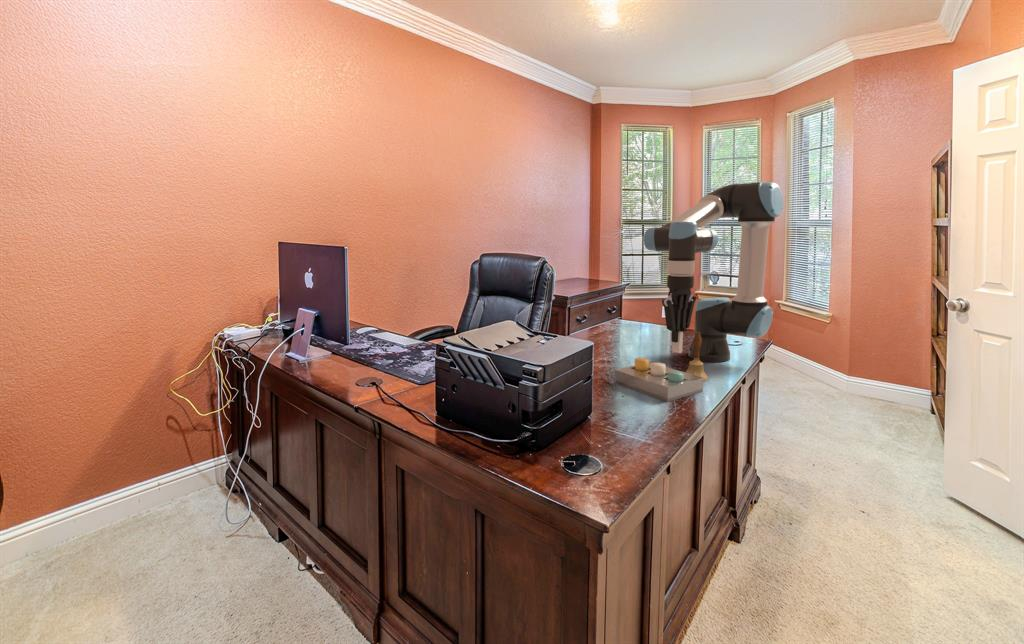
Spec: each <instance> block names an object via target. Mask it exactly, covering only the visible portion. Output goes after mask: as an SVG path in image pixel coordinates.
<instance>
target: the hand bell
mask: <svg viewBox="0 0 1024 644" xmlns="http://www.w3.org/2000/svg"><path fill="white" fill-rule="evenodd" d="M693 336H694V335H693ZM693 338H694V339H693ZM693 338H692V341H693V346H694V359H693V360H690V361H689V363H688V367H687V370H686V371H685V373H688V374H692V375H695V376H699V377H702V378H703V382H706V380H707V381H708V380H709V377H708V375H707V374H706V372H705V369H704V363H703V361H700V360H699V350H700V347H701V336H700V332H696V333H695V336H694V337H693Z"/></svg>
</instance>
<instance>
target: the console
mask: <svg viewBox="0 0 1024 644" xmlns="http://www.w3.org/2000/svg"><path fill="white" fill-rule="evenodd" d="M651 363H652V362H651V361H649V370H648V371H644V372H641V371H637V370H634V365H630V366H626V367H621V368H615V369H614V384H617V385H620V386H622V387H625V388H628V389H630V390H633V391H636V392H639V393H642V394H644V395H647V396H650V397H653V398H656V399H658V400H661V401H663V402H665V403H666V402H667V403H669V402H673V401H676V400H679V399H682V397H683V398H686V397H689V395H690V396H693V395H696V393H697V394H700V393H703V391H704V390H703V389H704V381H703V378H702V377H699V376H695V375H692V374H688V373H686V371H681V370H677V369H674V368H672V367H667V366H666V373H665V376H662V377H656V376H653V375H650V373H651ZM669 371H680V372H683V373H684V379H683V381H682V382H679V383H675V382H672V381H669V380H668V372H669Z"/></svg>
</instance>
